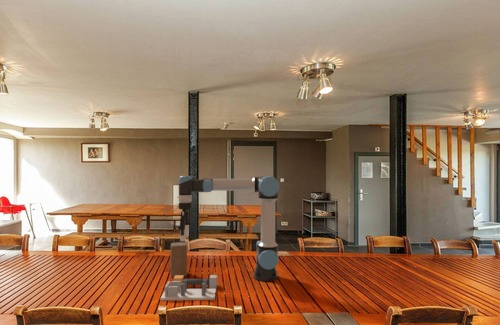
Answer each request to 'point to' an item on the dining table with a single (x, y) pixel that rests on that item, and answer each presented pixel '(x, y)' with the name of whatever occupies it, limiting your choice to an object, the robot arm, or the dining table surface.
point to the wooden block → (178, 259)
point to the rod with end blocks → (198, 280)
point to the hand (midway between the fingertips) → (184, 238)
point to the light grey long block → (187, 292)
